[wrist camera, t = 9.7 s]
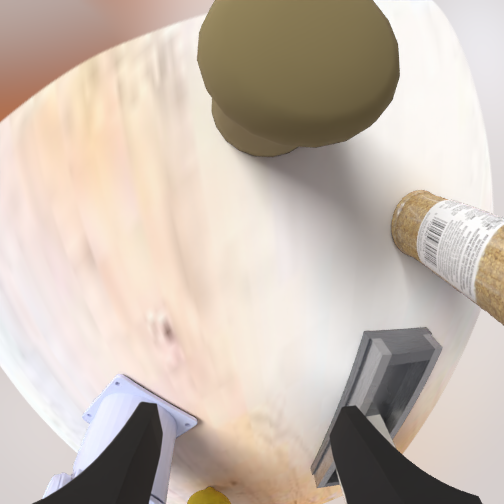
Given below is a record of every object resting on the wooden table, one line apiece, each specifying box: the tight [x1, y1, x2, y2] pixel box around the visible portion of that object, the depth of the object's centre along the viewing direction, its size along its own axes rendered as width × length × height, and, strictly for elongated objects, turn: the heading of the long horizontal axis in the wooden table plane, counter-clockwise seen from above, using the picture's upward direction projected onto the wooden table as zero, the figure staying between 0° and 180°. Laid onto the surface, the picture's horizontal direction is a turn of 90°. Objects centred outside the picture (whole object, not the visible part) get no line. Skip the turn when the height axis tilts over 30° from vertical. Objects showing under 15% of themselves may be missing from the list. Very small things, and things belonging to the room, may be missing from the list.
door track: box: [311, 327, 442, 488], centre depth 22 cm, size 20×6×3 cm, turn 176°
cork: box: [197, 0, 400, 157], centre depth 10 cm, size 6×6×11 cm
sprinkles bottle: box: [392, 190, 504, 325], centre depth 11 cm, size 5×5×13 cm
